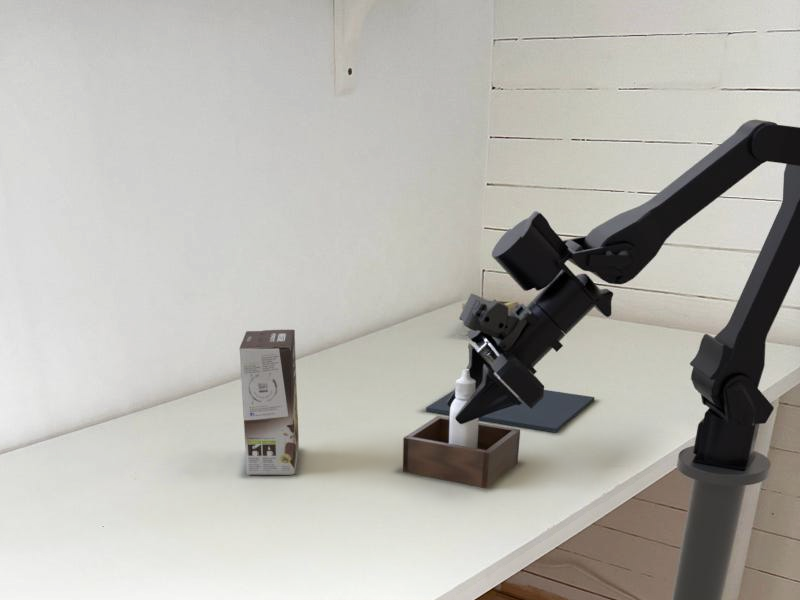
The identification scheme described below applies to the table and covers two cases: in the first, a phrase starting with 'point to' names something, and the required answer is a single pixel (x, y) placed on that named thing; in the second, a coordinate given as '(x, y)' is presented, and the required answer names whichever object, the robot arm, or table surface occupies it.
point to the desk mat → (531, 411)
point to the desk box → (461, 453)
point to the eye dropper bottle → (458, 432)
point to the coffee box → (270, 401)
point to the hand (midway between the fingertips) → (453, 413)
